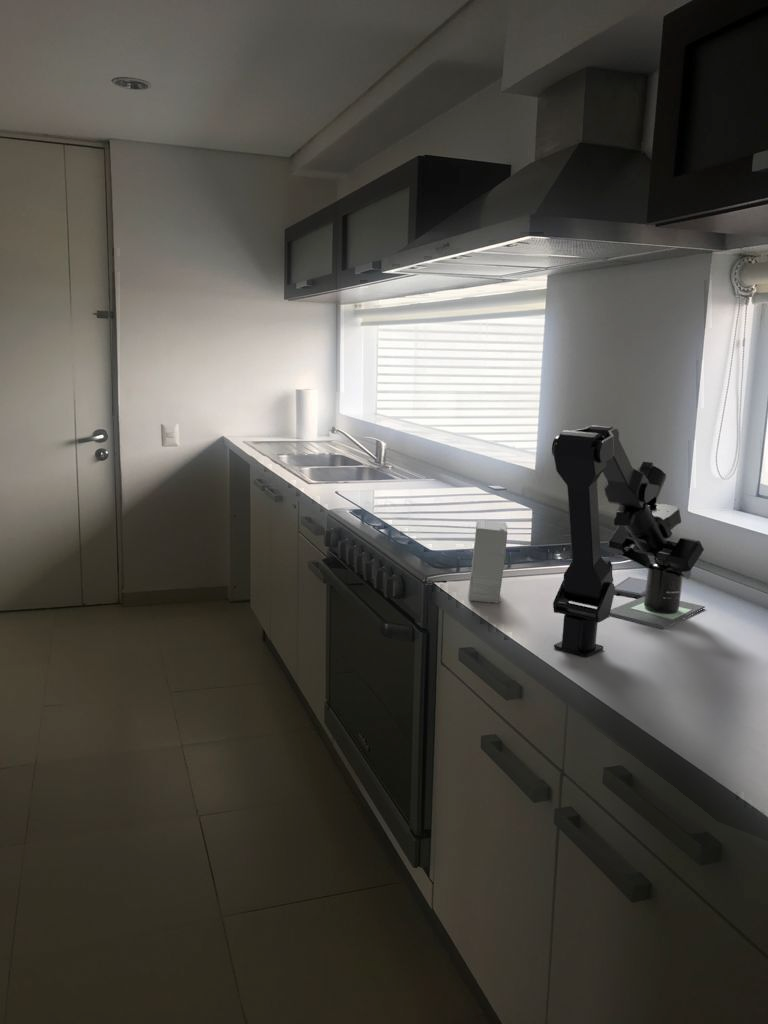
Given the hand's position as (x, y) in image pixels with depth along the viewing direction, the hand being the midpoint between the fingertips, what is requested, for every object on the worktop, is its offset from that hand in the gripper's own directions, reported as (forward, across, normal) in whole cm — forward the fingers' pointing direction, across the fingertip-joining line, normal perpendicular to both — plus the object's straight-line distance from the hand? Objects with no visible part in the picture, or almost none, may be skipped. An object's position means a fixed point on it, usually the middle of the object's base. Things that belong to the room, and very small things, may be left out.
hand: (668, 572), depth 174 cm
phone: (+12, +14, 0) cm, 19 cm away
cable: (+10, +10, +2) cm, 14 cm away
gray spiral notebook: (+5, +1, +7) cm, 9 cm away
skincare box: (-12, +26, +24) cm, 37 cm away
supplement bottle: (+4, 0, +7) cm, 8 cm away
